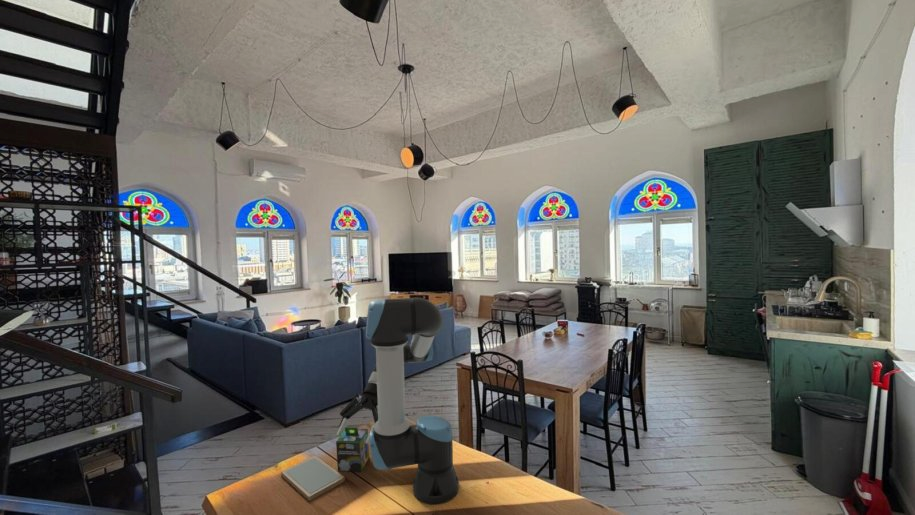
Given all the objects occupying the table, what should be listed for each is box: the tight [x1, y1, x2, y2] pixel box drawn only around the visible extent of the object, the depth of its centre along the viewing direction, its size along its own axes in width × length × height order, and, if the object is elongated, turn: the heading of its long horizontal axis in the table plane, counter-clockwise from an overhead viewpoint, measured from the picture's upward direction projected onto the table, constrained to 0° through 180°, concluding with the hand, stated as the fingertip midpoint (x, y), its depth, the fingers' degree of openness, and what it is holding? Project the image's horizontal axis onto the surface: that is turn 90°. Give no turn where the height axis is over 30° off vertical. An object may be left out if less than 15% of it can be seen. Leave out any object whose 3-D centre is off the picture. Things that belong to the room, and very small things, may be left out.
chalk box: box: [335, 426, 370, 473], centre depth 143 cm, size 9×9×15 cm
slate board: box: [280, 455, 346, 502], centre depth 136 cm, size 20×13×2 cm, turn 48°
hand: (353, 440), depth 144 cm, fingers open, 13 cm apart
